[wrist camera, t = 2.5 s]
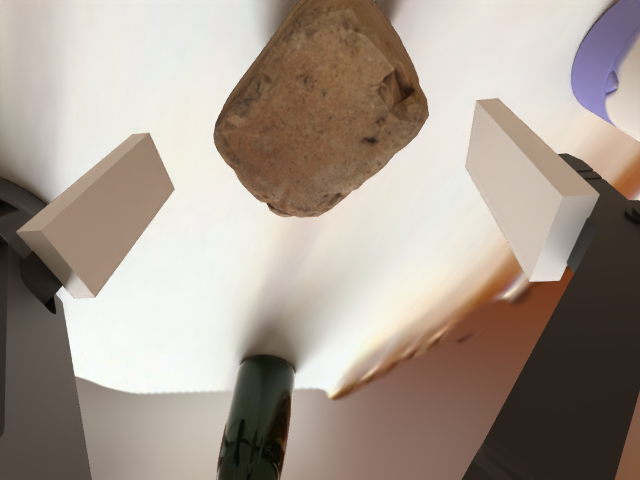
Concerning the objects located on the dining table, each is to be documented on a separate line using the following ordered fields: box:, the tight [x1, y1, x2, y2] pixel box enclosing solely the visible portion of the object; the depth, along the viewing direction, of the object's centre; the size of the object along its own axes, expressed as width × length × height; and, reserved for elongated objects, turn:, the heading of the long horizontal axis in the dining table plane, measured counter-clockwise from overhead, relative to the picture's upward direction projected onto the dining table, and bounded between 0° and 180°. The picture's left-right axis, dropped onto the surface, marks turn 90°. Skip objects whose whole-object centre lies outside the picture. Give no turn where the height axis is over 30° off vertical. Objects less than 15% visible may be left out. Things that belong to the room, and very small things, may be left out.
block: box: [213, 0, 429, 217], centre depth 22 cm, size 11×8×20 cm
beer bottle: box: [216, 356, 295, 480], centre depth 50 cm, size 10×10×33 cm
